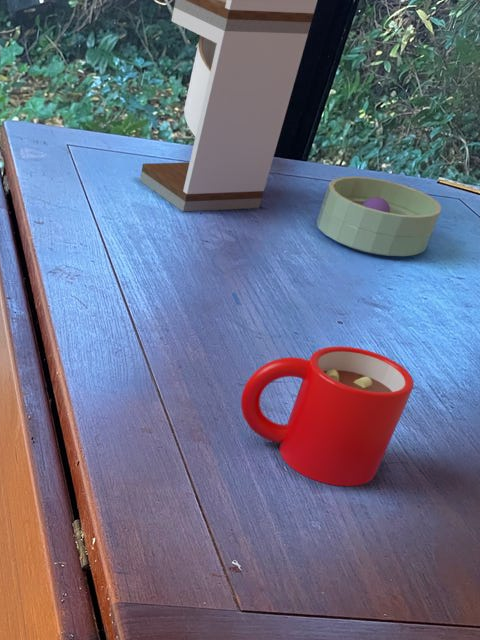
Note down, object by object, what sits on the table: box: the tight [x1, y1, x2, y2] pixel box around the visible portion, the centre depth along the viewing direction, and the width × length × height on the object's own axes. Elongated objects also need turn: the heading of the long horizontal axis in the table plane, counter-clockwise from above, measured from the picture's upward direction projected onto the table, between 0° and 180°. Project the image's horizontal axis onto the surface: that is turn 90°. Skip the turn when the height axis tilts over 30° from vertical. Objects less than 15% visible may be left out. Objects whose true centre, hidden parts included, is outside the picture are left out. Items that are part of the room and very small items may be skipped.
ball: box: [362, 197, 390, 213], centre depth 121 cm, size 4×4×4 cm
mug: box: [240, 345, 414, 487], centre depth 78 cm, size 8×12×8 cm, turn 77°
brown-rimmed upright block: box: [139, 0, 318, 212], centre depth 114 cm, size 11×11×35 cm
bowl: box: [316, 175, 443, 257], centre depth 120 cm, size 13×13×5 cm
